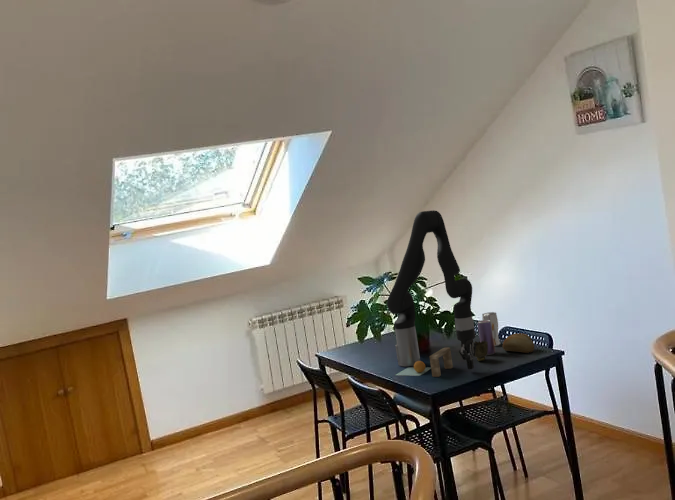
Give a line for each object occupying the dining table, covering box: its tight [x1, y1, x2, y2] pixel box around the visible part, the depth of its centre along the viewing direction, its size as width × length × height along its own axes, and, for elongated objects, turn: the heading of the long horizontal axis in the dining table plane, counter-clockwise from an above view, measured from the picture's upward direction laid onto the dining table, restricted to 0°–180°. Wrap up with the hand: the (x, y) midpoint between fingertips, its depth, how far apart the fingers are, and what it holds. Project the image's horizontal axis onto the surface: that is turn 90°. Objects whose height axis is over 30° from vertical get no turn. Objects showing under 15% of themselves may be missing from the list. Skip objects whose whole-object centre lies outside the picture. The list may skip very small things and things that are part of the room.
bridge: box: [428, 347, 454, 378], centre depth 308 cm, size 3×14×9 cm, turn 146°
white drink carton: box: [481, 311, 501, 347], centre depth 342 cm, size 7×7×15 cm
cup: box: [473, 340, 488, 362], centre depth 317 cm, size 8×7×8 cm
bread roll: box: [502, 332, 535, 354], centre depth 323 cm, size 10×15×8 cm, turn 46°
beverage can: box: [477, 319, 496, 356], centre depth 327 cm, size 6×6×15 cm
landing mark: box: [394, 366, 431, 377], centre depth 316 cm, size 12×12×1 cm
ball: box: [413, 360, 426, 373], centre depth 313 cm, size 5×5×5 cm
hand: (470, 368), depth 301 cm, fingers closed
